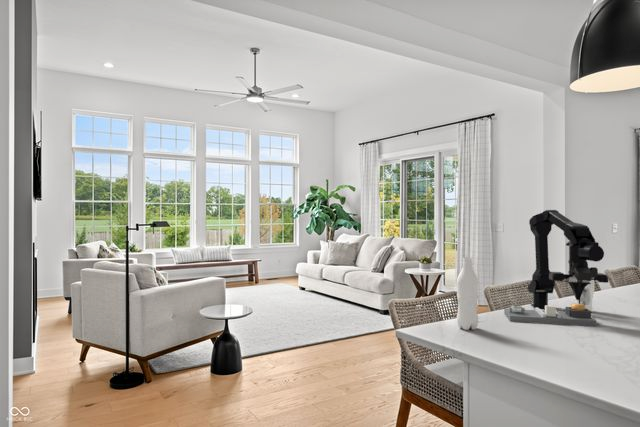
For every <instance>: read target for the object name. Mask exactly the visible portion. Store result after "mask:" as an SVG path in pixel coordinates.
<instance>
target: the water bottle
mask: <svg viewBox="0 0 640 427" xmlns="http://www.w3.org/2000/svg"><path fill="white" fill-rule="evenodd" d="M472 259H473V257H462V264H461V265H462V267H461V270H460V272H459V274H458V276H457V279H456V282H457V283H456V287H457V288H456V290H457V291H456V293H457V294H456V298H457V307H458V308H457V314H456V324H457V325H458V328H460V329H463V330H465V331H468V330H470V329H471V330H473V331H475V330H476V329H477V328H478V324H479V315H478V301H479V295H478V294H479V293H478V292H479V285H478V284H479V279H478V277H477V274H476V273H475V270H474V268H473V265H474V264H473V260H472Z"/></svg>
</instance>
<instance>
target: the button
mask: <svg viewBox="0 0 640 427" xmlns="http://www.w3.org/2000/svg"><path fill="white" fill-rule="evenodd" d="M570 307H571V310H577V311H585V305H583V304H577V303H574V302H573V303H571V306H570Z"/></svg>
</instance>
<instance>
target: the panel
mask: <svg viewBox="0 0 640 427" xmlns="http://www.w3.org/2000/svg"><path fill="white" fill-rule="evenodd" d="M503 310H504V311H503V313H504V314H503V315H505V317H506V318H507V319H508V320H509V322H516V323H533V324H537V323H538V324H551V325H552V324H553V325H554V324H555V325H571V326H572V325H573V326H589V327H590V326H591V327H596V326H597V320H596V319H595V318H593V317H592V312H591V311H590V310H588V309H587V308H585V311H577V310H571V306H566V307H565V310H564V311H560V310H559V311H558V310H556V317H551V316H546V314H545V310H542V309H541V308H536V307H535V309H525V307H523V306H522V309H512V307H511V306H508V308H504V309H503Z"/></svg>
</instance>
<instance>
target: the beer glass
mask: <svg viewBox="0 0 640 427" xmlns="http://www.w3.org/2000/svg"><path fill="white" fill-rule="evenodd" d="M576 282H577V279H576ZM589 282H590V283H591V284H588V285H587V286H586V287H585V288H584V290H583V293H582V295H581V297H580V300H576V301H577V302H576V304H583V305H585V308H587V309H588V310H590V311H591V313H593V312H594V307H593V299H594V294H595V287H596V286H595V280H591V281H589Z"/></svg>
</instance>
